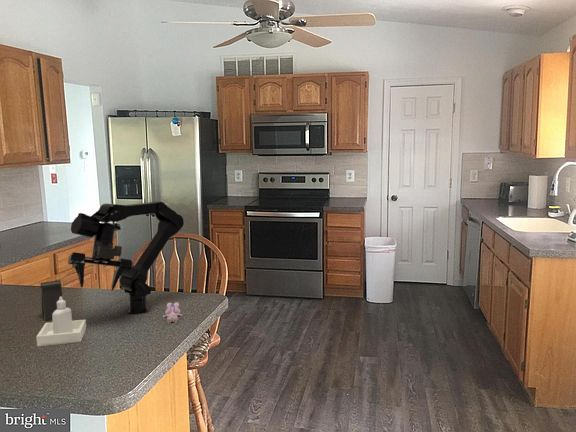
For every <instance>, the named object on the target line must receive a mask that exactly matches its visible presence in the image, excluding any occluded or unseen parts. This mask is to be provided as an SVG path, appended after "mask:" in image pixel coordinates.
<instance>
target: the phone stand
mask: <svg viewBox="0 0 576 432" xmlns="http://www.w3.org/2000/svg"><path fill="white" fill-rule="evenodd" d="M61 281H62V280H53V281H46V282H41V283H40V296H41V297H40V299H41V301H40V305H41V315H42V317H43V319H44V321H45V322H49V321H53V320H52V314H53V312H54V311H55V310H57V301H59V297H62V298H63V291H62V289H63V288H62V282H61Z"/></svg>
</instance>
